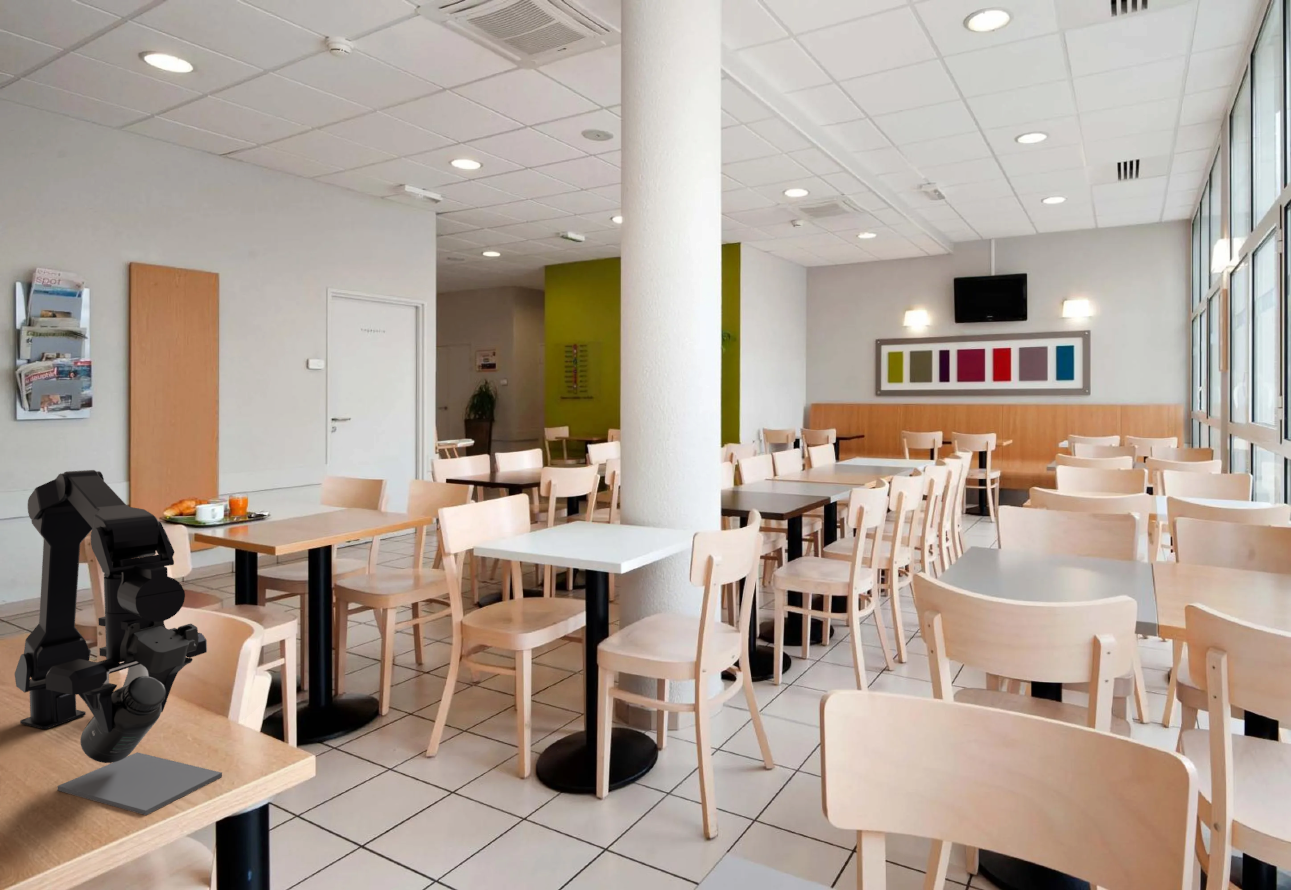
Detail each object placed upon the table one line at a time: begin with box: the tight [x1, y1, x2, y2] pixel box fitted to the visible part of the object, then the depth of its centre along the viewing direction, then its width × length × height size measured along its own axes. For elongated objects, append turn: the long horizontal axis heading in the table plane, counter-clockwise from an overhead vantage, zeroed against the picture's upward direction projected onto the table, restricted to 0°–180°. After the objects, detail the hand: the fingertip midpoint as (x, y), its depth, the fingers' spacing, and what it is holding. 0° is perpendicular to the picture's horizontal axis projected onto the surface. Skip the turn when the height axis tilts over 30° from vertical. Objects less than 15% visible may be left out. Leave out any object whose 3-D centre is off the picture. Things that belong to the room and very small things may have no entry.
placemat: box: [56, 751, 223, 816], centre depth 107 cm, size 17×11×1 cm, turn 68°
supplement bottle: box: [79, 676, 166, 764], centre depth 108 cm, size 7×7×12 cm
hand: (133, 721), depth 107 cm, fingers closed on supplement bottle, 7 cm apart
